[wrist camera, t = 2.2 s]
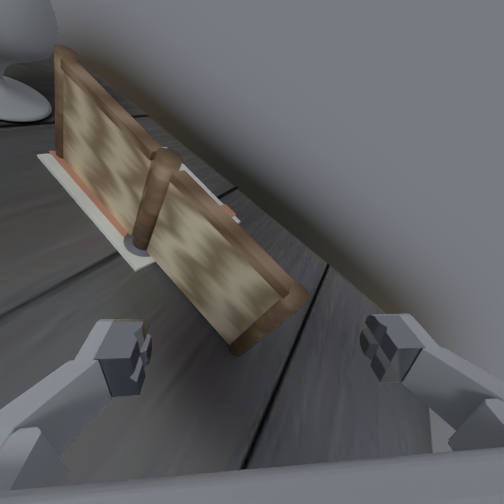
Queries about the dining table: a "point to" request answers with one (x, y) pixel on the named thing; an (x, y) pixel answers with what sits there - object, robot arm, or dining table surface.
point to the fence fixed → (110, 149)
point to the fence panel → (221, 266)
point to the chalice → (24, 55)
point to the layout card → (102, 214)
